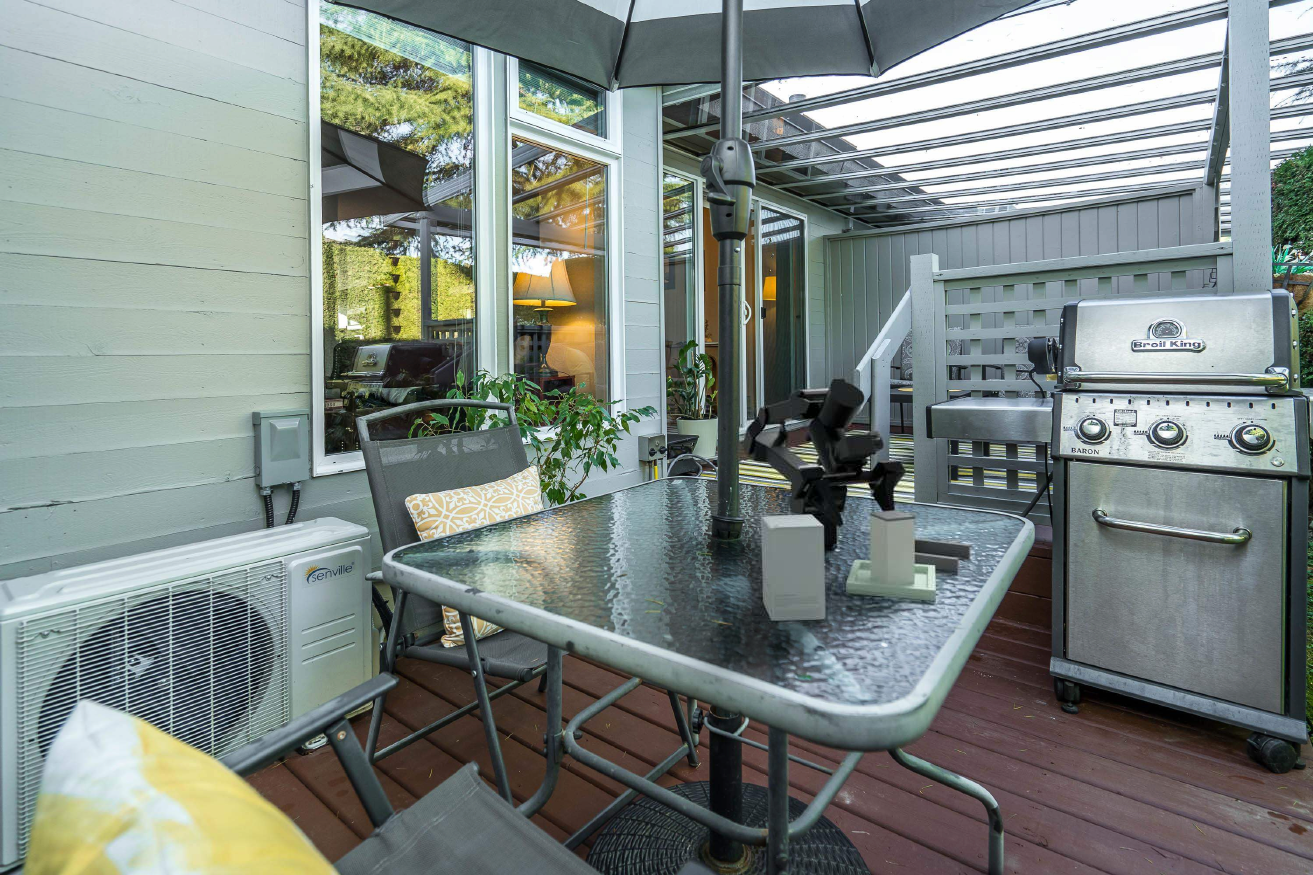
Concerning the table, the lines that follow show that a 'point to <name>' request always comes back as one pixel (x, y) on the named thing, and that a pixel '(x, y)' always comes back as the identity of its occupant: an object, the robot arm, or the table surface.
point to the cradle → (940, 548)
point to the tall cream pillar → (892, 547)
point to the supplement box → (793, 567)
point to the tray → (866, 585)
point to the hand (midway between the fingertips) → (867, 522)
